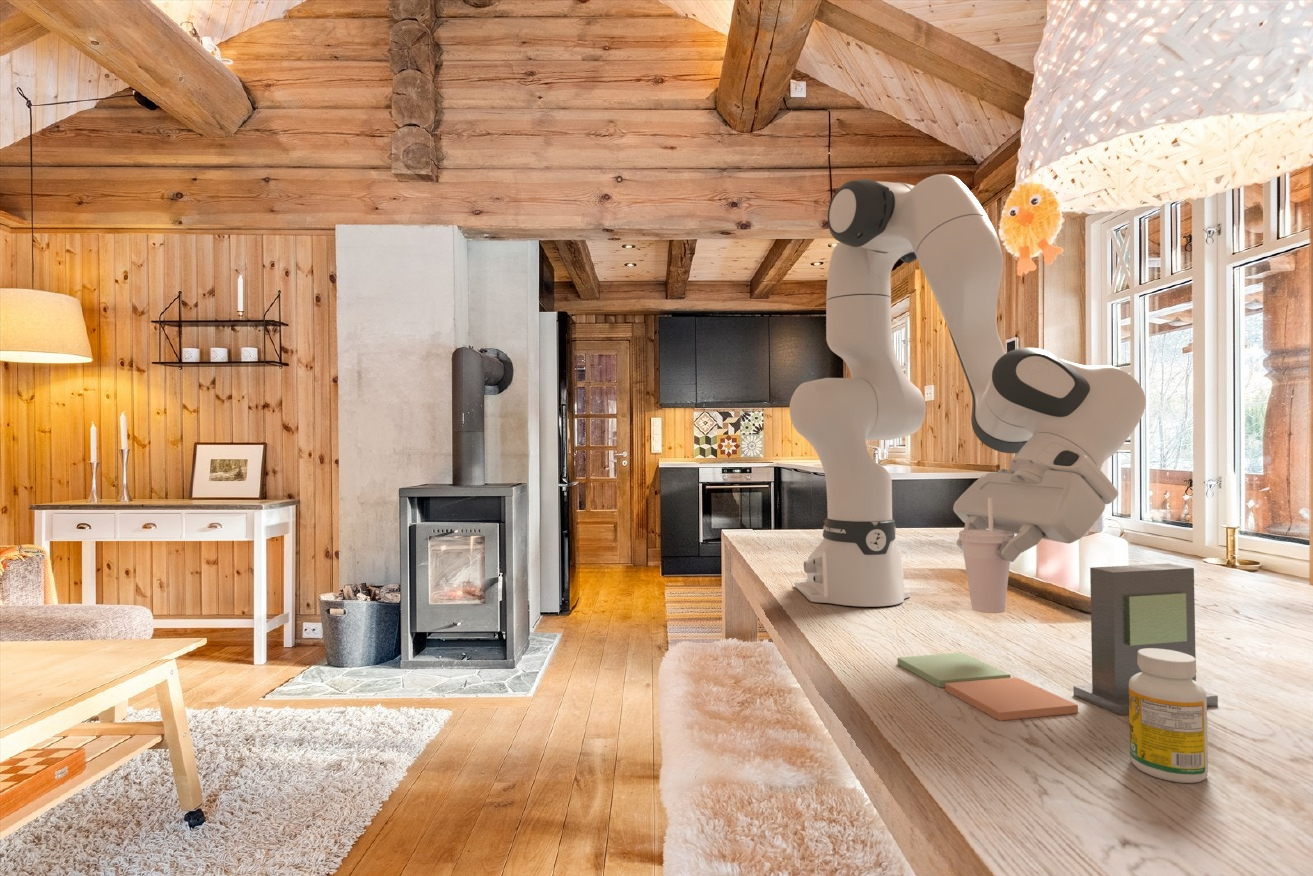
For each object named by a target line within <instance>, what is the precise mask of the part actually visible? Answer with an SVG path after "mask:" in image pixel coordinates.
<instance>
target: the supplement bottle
mask: <svg viewBox="0 0 1313 876" xmlns="http://www.w3.org/2000/svg"><path fill="white" fill-rule="evenodd" d="M1137 664H1138V666H1139V668H1140V669H1141V670H1142V672H1140V673H1137V674H1135V675H1134V676H1132V677H1131V679H1130V681H1129V714H1128V717H1129V719H1128V722H1129V723H1128V726H1129V728H1128V729H1129V759H1130V761H1131V763H1132V764H1133V765H1134V766H1135V767H1136V768H1137V769H1138V770H1139V771H1141V772H1143V773H1144V774H1146V775H1149V776H1152V777H1154V778H1158V779H1161V780H1165V781H1168V782H1172V783H1173V782H1175V783H1179V784H1180V783H1181V784H1195V783H1201V782H1202V781H1204V780H1205V779H1206V778H1207V777H1208V774H1209V763H1208V762H1209V761H1208V760H1209V759H1208V758H1209V757H1208V754H1209V753H1208V706H1207V695H1206V692H1207V691H1206V690H1205V688H1204V687H1203V685H1201V684H1200V683H1199V682H1198V681H1197V680H1196V681H1194V680H1192V678H1193V677H1195V674H1196V675H1197V673H1198V672H1197V671H1198V670H1197V660H1196V659H1195V658H1194V657H1193V656H1191V655H1188V654H1185V653H1182V652H1178V651H1173V650H1166V649H1157V648H1145V649H1140V650H1139V651H1138V656H1137ZM1205 691H1206V692H1205Z"/></svg>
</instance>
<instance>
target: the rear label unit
mask: <svg viewBox="0 0 1313 876" xmlns="http://www.w3.org/2000/svg"><path fill="white" fill-rule="evenodd" d="M1089 568H1090V570H1089V574H1090V579H1089V580H1090V625H1091V627H1090V628H1091V629H1090V630H1091V631H1090V632H1091V635H1090V636H1091V637H1090V638H1091V678H1092V679H1091V681H1092V682H1091V683H1089V684H1080V685H1079V684H1077V685H1073V696H1075V697H1077V698H1079V699H1081V700H1084V701H1086V702H1088V703H1091V704H1093V705H1094V706H1098V707H1100V708H1102V709H1104V710H1107V711H1109V712H1111V713H1114V714H1116V715H1117V716H1124V715H1125V716H1127V715H1129V681H1130V679H1131V677H1132V676H1134V675H1135V674H1137V673H1140V672H1142V670H1141V669H1140V668H1139V666H1138V664H1137V656H1138V651H1139V650H1140V649H1145V648H1157V649H1166V650H1173V651H1178V652H1182V653H1185V654H1188V655H1191V656H1193V657H1194V658H1195V659H1196V654H1197V653H1196V619H1195V618H1196V613H1195V609H1196V608H1195V606H1196V605H1195V602H1196V601H1195V568H1194V567H1190V566H1185V565H1178V564H1173V563H1151V564H1138V565H1135V564H1133V565H1114V566H1112V565H1111V566H1096V567H1095V566H1093V567H1089ZM1192 680H1194V681H1196V682H1197V673H1196V674H1195V677H1193V678H1192ZM1205 692H1206V695H1207V707H1214V706H1219V698H1218V696H1219V695H1217V694H1215V693H1211V692H1209V691H1206V690H1205Z"/></svg>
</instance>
